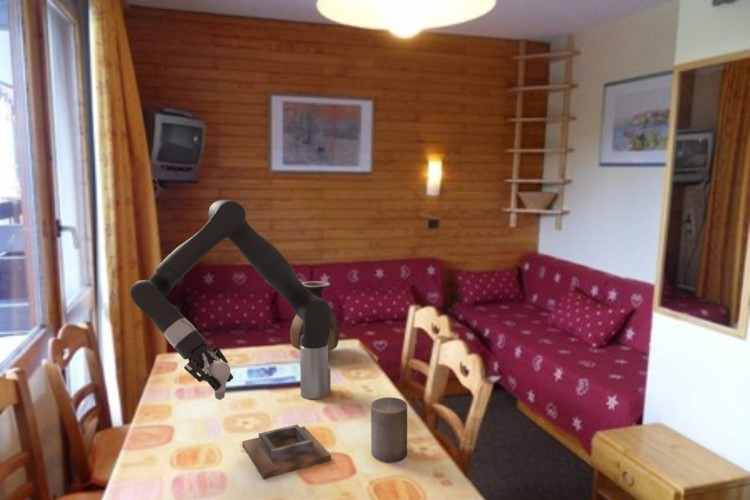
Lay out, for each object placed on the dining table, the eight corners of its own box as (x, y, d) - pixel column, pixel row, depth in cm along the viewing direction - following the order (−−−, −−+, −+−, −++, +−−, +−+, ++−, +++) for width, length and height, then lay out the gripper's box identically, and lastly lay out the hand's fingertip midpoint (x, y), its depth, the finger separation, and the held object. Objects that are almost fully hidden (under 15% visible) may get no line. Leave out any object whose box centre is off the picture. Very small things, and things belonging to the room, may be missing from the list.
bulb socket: (304, 431, 156) (304, 416, 156) (330, 460, 141) (330, 444, 140) (242, 446, 148) (242, 430, 147) (263, 479, 132) (263, 461, 132)
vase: (315, 369, 204) (315, 291, 200) (277, 359, 215) (276, 285, 210) (351, 353, 223) (351, 281, 219) (314, 344, 234) (314, 276, 230)
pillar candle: (411, 447, 148) (411, 395, 146) (401, 465, 139) (401, 409, 137) (377, 442, 151) (377, 390, 149) (365, 459, 142) (365, 404, 140)
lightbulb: (225, 405, 147) (223, 366, 145) (204, 403, 148) (202, 364, 146) (235, 396, 153) (234, 358, 151) (215, 394, 154) (213, 356, 152)
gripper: (176, 337, 142) (219, 386, 141) (207, 322, 156) (246, 366, 155) (160, 355, 145) (202, 403, 143) (192, 338, 158) (230, 382, 157)
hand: (225, 383), depth 149 cm, fingers closed on lightbulb, 5 cm apart
